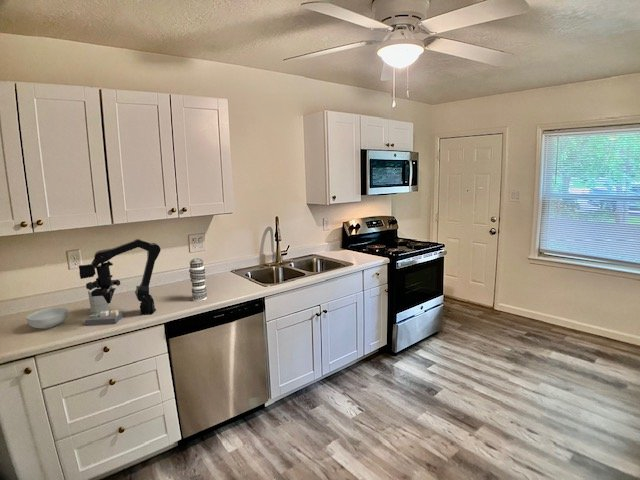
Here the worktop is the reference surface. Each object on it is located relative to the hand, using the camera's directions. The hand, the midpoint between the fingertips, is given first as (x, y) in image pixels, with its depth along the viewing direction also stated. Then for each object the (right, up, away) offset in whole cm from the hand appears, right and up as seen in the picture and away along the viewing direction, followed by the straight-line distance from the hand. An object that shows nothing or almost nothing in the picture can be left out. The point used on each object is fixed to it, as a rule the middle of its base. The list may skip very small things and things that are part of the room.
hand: (109, 303), depth 188 cm
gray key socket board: (-3, -10, +1) cm, 10 cm away
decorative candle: (+38, -3, +31) cm, 49 cm away
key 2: (+2, -7, +1) cm, 8 cm away
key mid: (-3, -7, +1) cm, 8 cm away
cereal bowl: (-29, -11, -2) cm, 32 cm away
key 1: (-8, -9, +1) cm, 12 cm away
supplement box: (-14, -8, +16) cm, 22 cm away
